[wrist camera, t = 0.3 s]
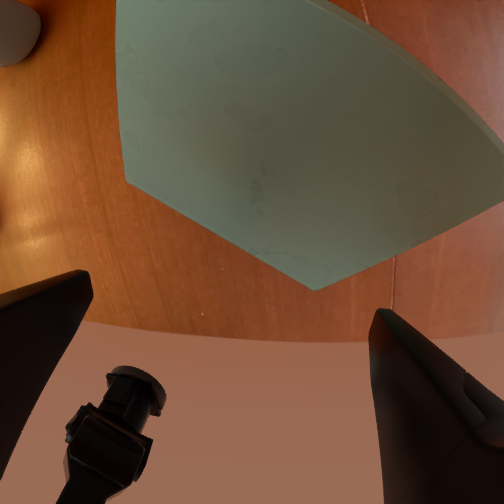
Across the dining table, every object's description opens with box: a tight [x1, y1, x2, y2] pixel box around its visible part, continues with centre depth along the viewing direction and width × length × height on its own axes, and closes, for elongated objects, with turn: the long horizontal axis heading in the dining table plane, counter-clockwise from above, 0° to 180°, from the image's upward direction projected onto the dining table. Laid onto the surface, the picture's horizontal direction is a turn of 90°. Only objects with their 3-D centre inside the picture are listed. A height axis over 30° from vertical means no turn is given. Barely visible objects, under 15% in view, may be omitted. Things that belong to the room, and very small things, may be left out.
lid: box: [116, 0, 504, 291], centre depth 12 cm, size 14×14×1 cm
